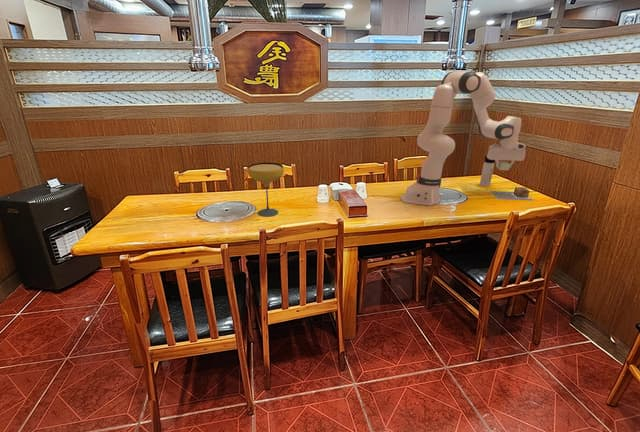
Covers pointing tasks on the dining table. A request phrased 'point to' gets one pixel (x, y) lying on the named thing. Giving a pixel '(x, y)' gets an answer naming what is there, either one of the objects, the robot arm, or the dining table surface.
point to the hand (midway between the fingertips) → (503, 167)
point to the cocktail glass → (266, 180)
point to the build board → (508, 196)
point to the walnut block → (521, 192)
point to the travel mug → (487, 172)
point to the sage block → (503, 165)
